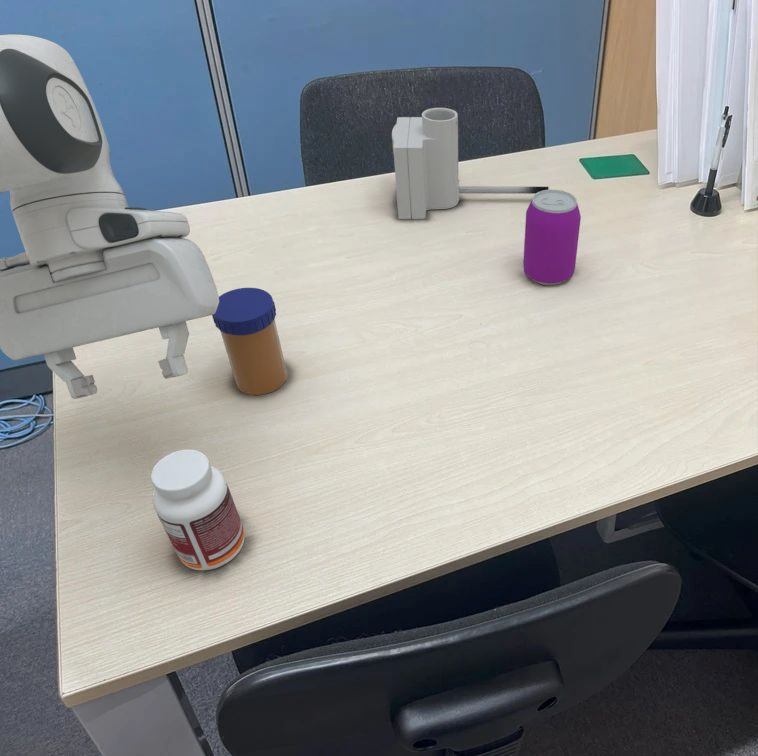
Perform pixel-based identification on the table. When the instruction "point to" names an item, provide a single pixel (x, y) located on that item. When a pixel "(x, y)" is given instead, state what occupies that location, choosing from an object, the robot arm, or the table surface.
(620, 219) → the table surface
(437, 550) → the table surface
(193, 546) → the pill bottle
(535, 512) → the table surface
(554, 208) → the beverage can
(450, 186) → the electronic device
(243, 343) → the jar
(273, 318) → the lid
